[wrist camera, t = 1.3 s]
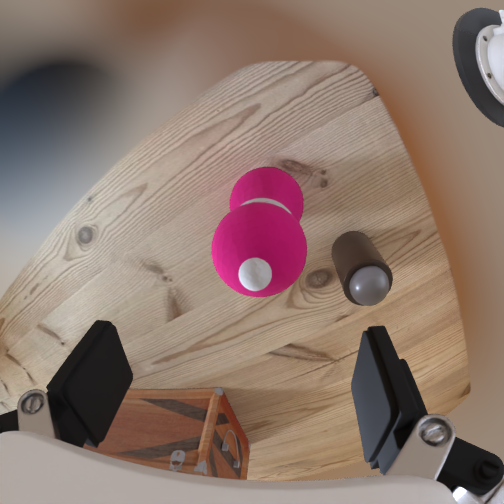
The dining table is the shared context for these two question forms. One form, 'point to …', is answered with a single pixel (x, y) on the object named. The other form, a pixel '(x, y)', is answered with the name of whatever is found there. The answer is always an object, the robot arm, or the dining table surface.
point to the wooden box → (178, 433)
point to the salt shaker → (361, 269)
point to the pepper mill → (261, 234)
